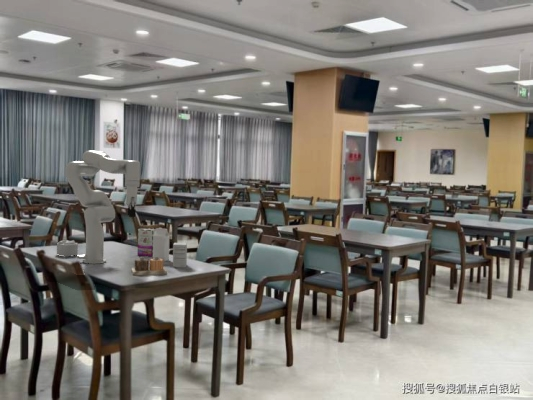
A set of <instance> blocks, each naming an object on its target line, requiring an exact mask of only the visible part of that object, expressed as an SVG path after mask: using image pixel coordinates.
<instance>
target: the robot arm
mask: <svg viewBox="0 0 533 400" xmlns="http://www.w3.org/2000/svg"><path fill="white" fill-rule="evenodd" d="M81 159H82V161H80V160H78V161H77V160H75V161H69V162H68V163H67V165H66V166H65V172H64V173H65V178H66V180H67V182H68V183H69V185H70V186H71V188H72V189H73V191H74V193H75V195H76V197H77V199H78V201H79V202H80V204H81V206H82V207H84V208H85V210H84V213H83V215H84V216H83V217H84V221H85V253H84V254H78V255H77V256H76V259H77V260H82V263H83V262H84V264H88V263H89V264H92V265H95V264H96V265H97V264H104V263H106V262H107V259H106V258H104V245H105V244H104V240H105V237H104V236H105V232H104V227H103V225H102V223H110V222H112V221H113V220H114V219H115V217H116V211H115V208H114V206H113V204H112V202H111V201H110V199H109V197H108V195H107V194H106V193H105V192H104V191H102V190H99V189H95V190H94V189H92V188H91V187H90V185H89V183H88V181H87V180H86V179H84V178H83V177H92V176H95V175H96V174H97V173H99V172H100V171H102V172H105V173H109V174H112V175H113V174H115V175H117V174H118V175H119V174H120V175H124V187H126V194H125V195H126V197H125V205H127V206H128V207H127V215H128V217H129V218H135V217H136V216H137V215H136V212H137V210H136V206H137V204H138V203H137V201H138V188H139V187H140V185H141V184H140V180H141V179H140V178H141V177H140V176H141V175H140V173H141V162H140V161H139V160H128V159H113V158H111V157H110V156H109V155H108V154H107V153H106V152H105V151H102V150H91V149H90V150H86V151H85V152H83V154H82V157H81Z"/></svg>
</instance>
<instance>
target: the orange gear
mask: <svg viewBox="0 0 533 400" xmlns="http://www.w3.org/2000/svg"><path fill="white" fill-rule="evenodd" d="M148 260H149V270H156V271H158V270H162V269H163V267H164V262H163V259H159V260H154V259H153V258H151V259H148Z"/></svg>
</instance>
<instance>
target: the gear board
mask: <svg viewBox="0 0 533 400" xmlns="http://www.w3.org/2000/svg"><path fill="white" fill-rule="evenodd" d="M149 260H150V259H146V258H145V256H140V257H139V258H137V259H134V267H131V270H130V271H131V273H132V275H133V276H137V275H138V276H141V275H142V276H143V275H167V274H168V271H167V269H166V268H165V267H164V266H163V269H162V270H158V271H156V270H149ZM154 260H159V257H154Z"/></svg>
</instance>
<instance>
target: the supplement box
mask: <svg viewBox="0 0 533 400" xmlns="http://www.w3.org/2000/svg"><path fill="white" fill-rule="evenodd" d="M187 247H188V243H187V242H174V243H173V247H172V268H186V267H187V263H188V262H187V257H188V248H187Z"/></svg>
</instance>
